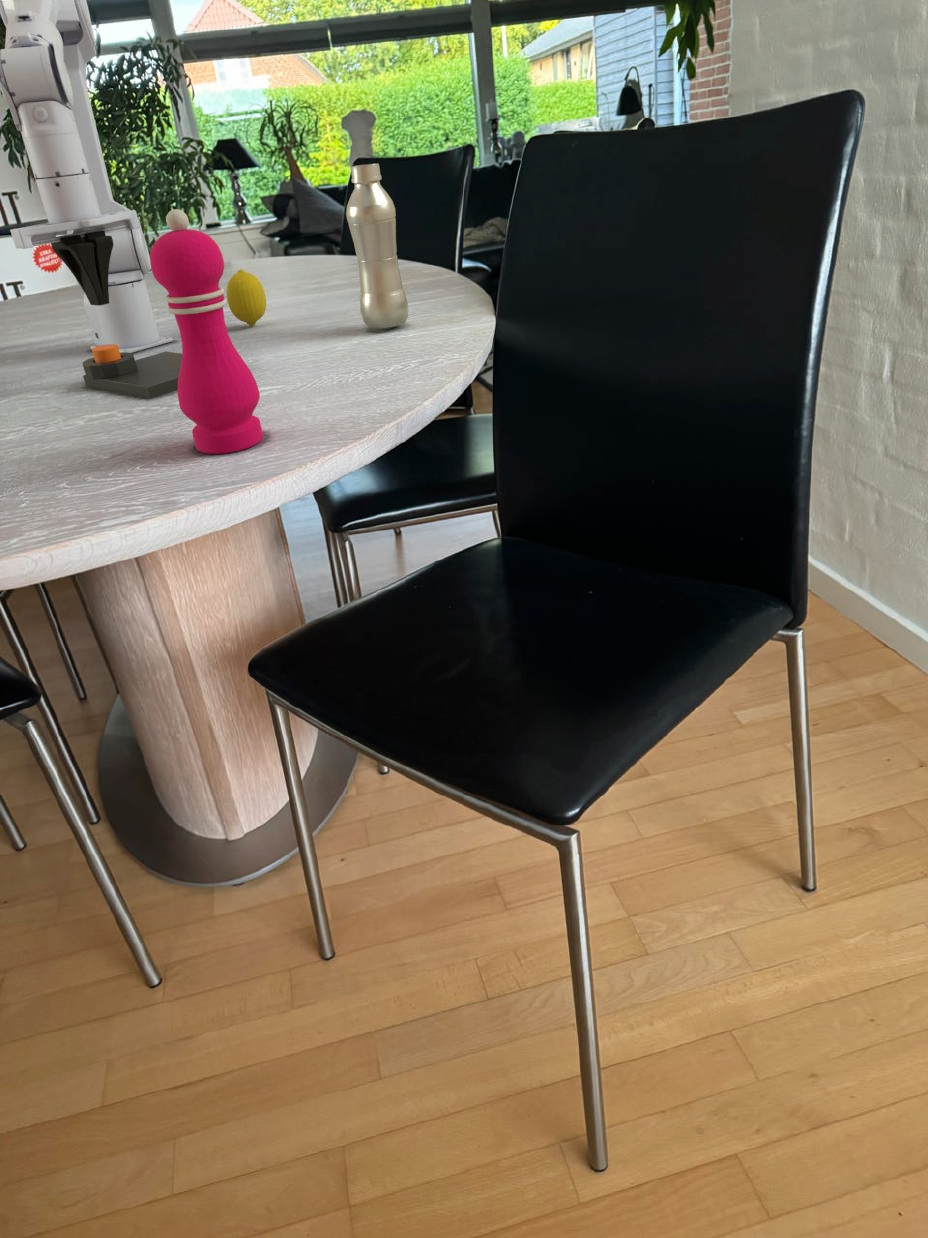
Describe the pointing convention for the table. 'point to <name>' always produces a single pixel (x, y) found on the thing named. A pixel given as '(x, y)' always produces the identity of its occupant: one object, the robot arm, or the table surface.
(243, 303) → the lemon
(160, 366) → the grey peg base
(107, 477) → the table surface
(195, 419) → the pepper mill
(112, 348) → the button
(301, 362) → the table surface
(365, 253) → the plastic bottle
